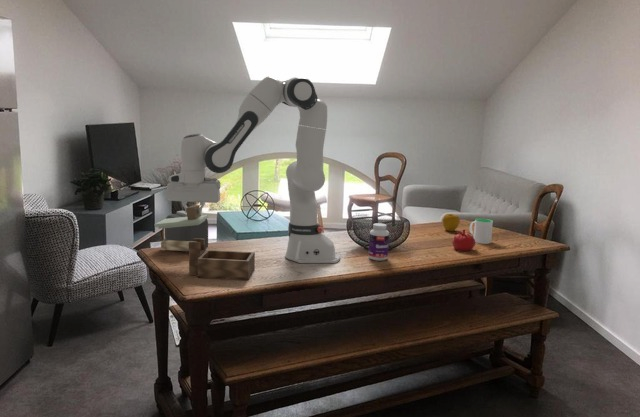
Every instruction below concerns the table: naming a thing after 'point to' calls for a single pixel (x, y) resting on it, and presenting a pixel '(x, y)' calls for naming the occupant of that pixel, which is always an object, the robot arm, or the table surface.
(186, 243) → the bar
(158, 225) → the lid
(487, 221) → the mug
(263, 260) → the table surface
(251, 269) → the chest
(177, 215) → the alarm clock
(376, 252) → the pill bottle
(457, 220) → the apple
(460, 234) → the pomegranate
